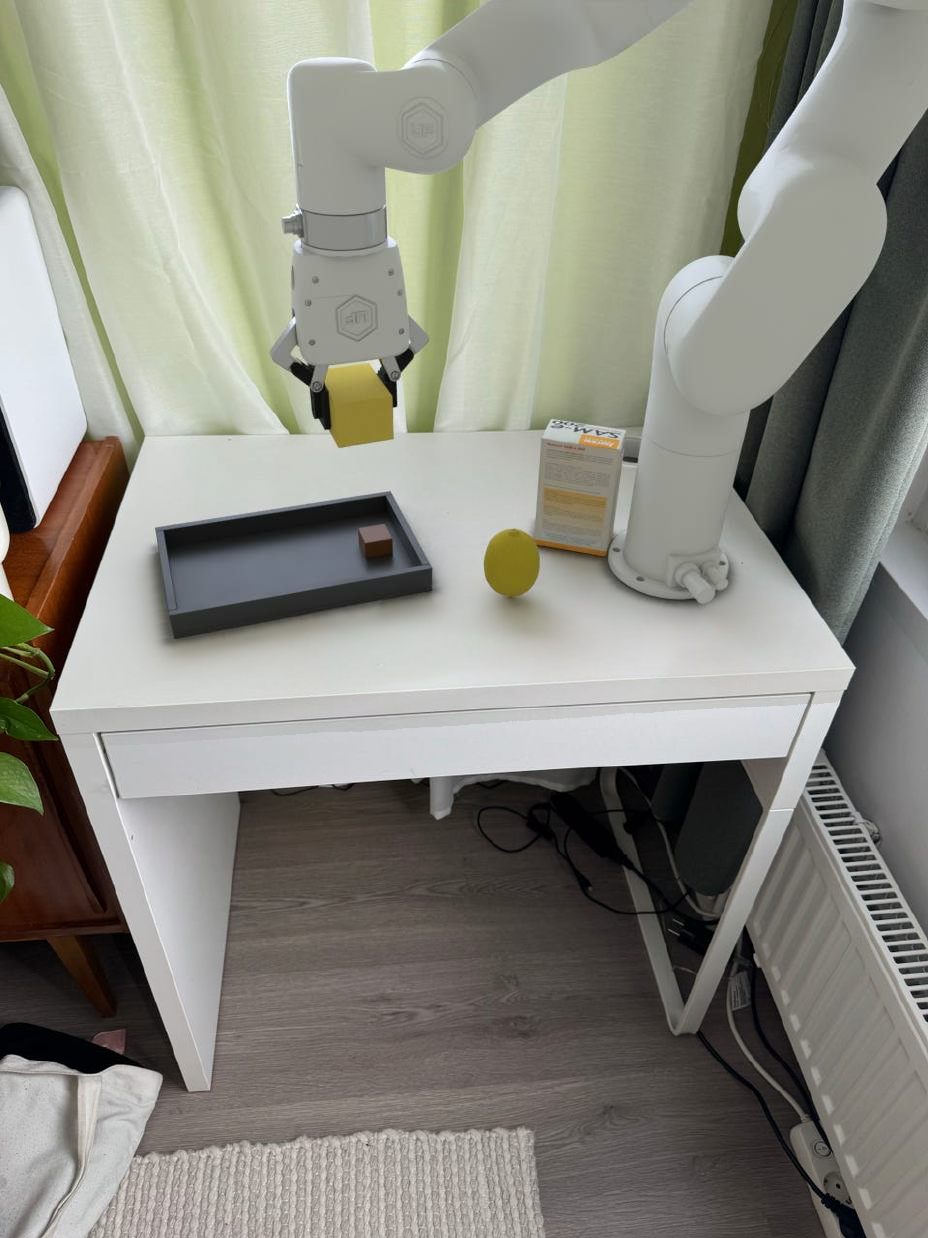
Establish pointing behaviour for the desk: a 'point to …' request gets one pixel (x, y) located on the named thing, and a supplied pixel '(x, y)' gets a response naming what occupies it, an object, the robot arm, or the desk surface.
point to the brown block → (375, 541)
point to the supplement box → (578, 486)
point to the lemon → (511, 562)
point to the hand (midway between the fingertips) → (355, 417)
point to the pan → (285, 563)
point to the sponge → (358, 406)
